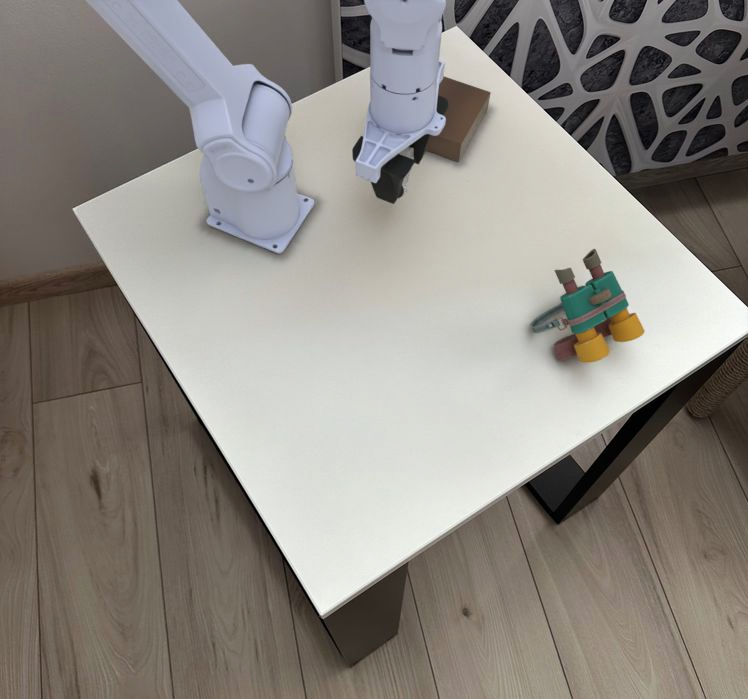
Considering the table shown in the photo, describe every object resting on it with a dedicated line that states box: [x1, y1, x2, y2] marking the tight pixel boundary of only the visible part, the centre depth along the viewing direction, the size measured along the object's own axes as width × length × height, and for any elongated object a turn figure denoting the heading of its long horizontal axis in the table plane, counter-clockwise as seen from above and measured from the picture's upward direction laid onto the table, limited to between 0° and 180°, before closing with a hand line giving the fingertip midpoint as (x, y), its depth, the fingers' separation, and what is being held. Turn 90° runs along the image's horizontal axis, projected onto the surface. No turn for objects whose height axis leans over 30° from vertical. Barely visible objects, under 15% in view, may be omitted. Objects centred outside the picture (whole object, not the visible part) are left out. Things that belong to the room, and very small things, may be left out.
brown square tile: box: [426, 75, 492, 163], centre depth 90 cm, size 9×9×3 cm
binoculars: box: [529, 248, 646, 364], centre depth 74 cm, size 9×9×10 cm
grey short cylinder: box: [397, 147, 414, 200], centre depth 76 cm, size 3×5×5 cm, turn 161°
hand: (398, 178), depth 77 cm, fingers closed on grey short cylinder, 5 cm apart
